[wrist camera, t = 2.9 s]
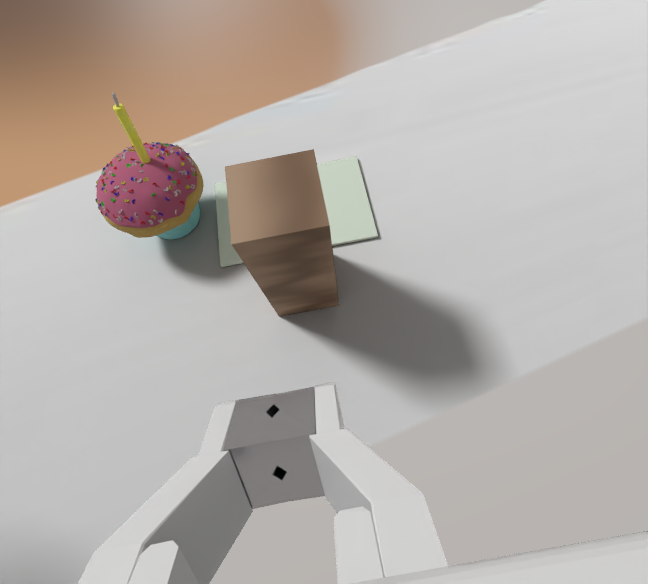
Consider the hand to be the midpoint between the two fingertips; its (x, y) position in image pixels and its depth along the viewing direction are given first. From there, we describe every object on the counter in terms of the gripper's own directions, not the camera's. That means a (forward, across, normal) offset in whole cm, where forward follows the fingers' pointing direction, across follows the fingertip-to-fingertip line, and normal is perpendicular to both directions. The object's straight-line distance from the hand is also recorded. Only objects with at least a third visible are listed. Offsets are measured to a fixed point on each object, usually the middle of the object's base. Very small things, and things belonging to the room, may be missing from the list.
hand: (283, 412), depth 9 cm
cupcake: (+27, +11, -2) cm, 29 cm away
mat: (+26, 0, -1) cm, 26 cm away
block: (+20, 0, +4) cm, 21 cm away
